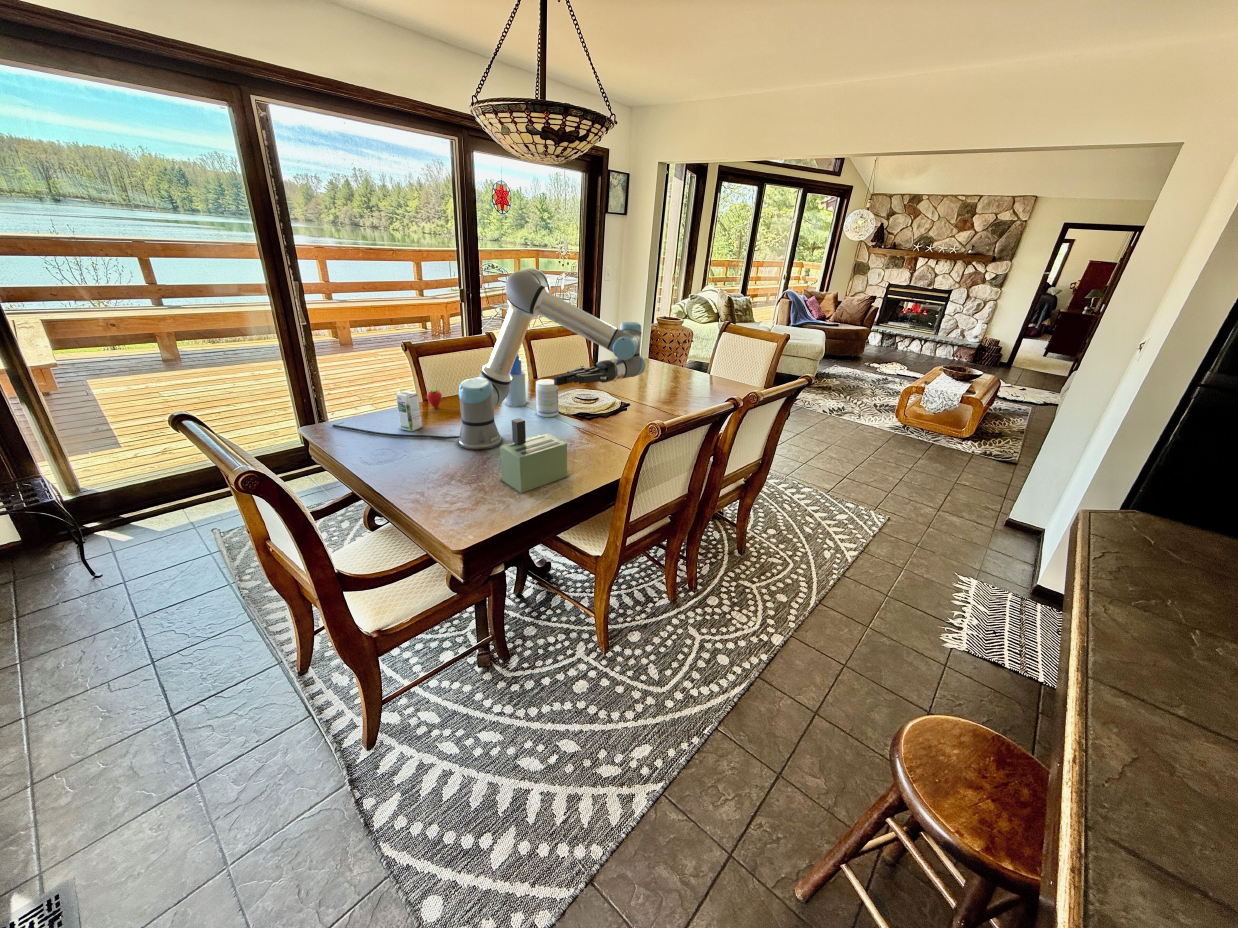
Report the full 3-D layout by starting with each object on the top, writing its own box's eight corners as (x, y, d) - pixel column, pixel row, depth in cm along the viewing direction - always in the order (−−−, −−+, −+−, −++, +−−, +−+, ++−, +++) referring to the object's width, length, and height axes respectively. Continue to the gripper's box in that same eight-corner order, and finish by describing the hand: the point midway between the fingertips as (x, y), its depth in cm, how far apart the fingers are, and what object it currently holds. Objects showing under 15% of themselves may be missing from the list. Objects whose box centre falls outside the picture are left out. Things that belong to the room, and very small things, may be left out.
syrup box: (400, 429, 189) (394, 393, 183) (411, 424, 194) (406, 389, 188) (411, 431, 187) (406, 396, 181) (422, 427, 192) (417, 392, 186)
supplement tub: (562, 415, 211) (562, 383, 205) (542, 419, 206) (541, 386, 200) (552, 409, 219) (551, 377, 212) (533, 412, 214) (532, 380, 207)
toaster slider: (517, 445, 150) (516, 422, 146) (512, 442, 152) (511, 420, 148) (526, 443, 152) (525, 420, 148) (520, 440, 153) (519, 418, 150)
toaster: (521, 493, 147) (519, 457, 142) (501, 480, 154) (499, 445, 149) (567, 476, 159) (567, 442, 154) (547, 465, 166) (546, 432, 161)
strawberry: (425, 410, 209) (422, 388, 205) (432, 405, 216) (430, 383, 212) (438, 411, 209) (435, 389, 205) (445, 406, 216) (443, 384, 212)
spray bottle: (530, 403, 225) (528, 349, 214) (516, 407, 218) (514, 352, 207) (515, 399, 229) (513, 346, 218) (502, 403, 222) (499, 349, 212)
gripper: (621, 385, 166) (568, 397, 151) (596, 376, 174) (543, 387, 159) (622, 363, 163) (568, 374, 148) (597, 356, 171) (543, 365, 156)
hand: (555, 381), depth 153 cm, fingers closed
